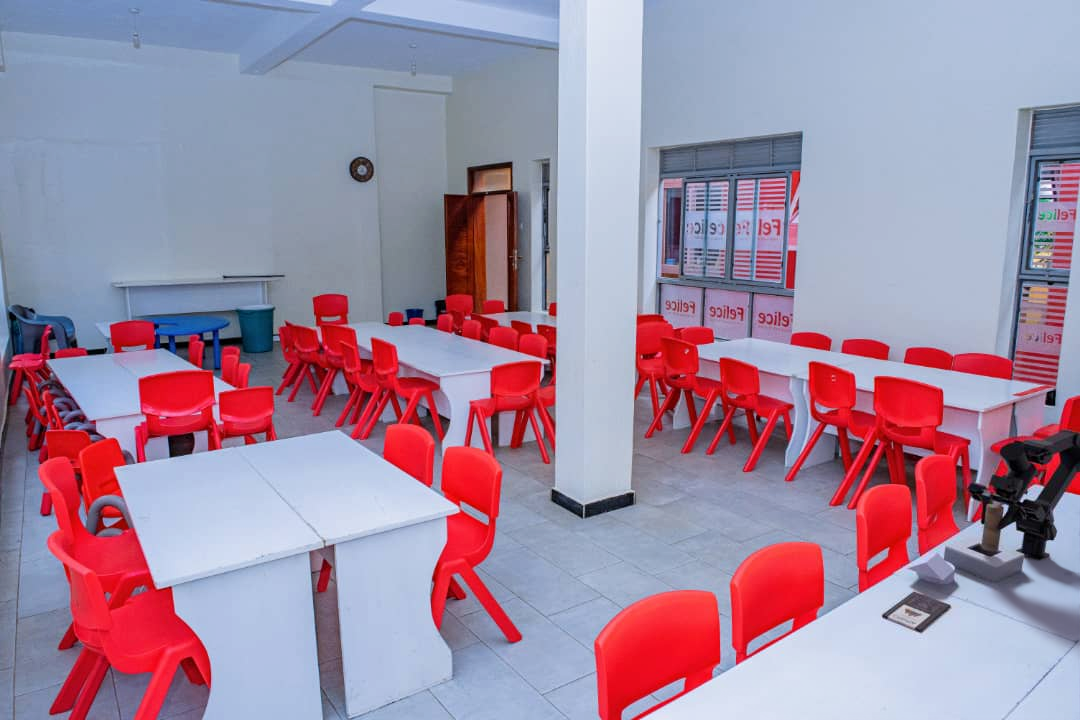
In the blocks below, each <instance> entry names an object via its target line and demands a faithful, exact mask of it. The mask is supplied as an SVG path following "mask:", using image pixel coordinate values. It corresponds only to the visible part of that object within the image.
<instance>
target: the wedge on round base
mask: <svg viewBox="0 0 1080 720" xmlns="http://www.w3.org/2000/svg"><path fill="white" fill-rule="evenodd" d="M906 569H907V570H910V571H913V572H915V573H916V575H917V576H918V577H919V578H920V579H922V580H924V581H926V582H930V583H933V584H938V583H939V584H940V585H947V583H949V584H951V582H952V583H953V582H954V579H955V571H956V567H954V566H953V565H952V564H951V563H949V562H947V561H945V560H944V557H942V555H940V554H939V553H938V552H937V553H933V554H930V555H927V556H924V557H919V558H918V559H917V560H915V562H912V563H911V565H909V566H908V567H907V568H906Z"/></svg>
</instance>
